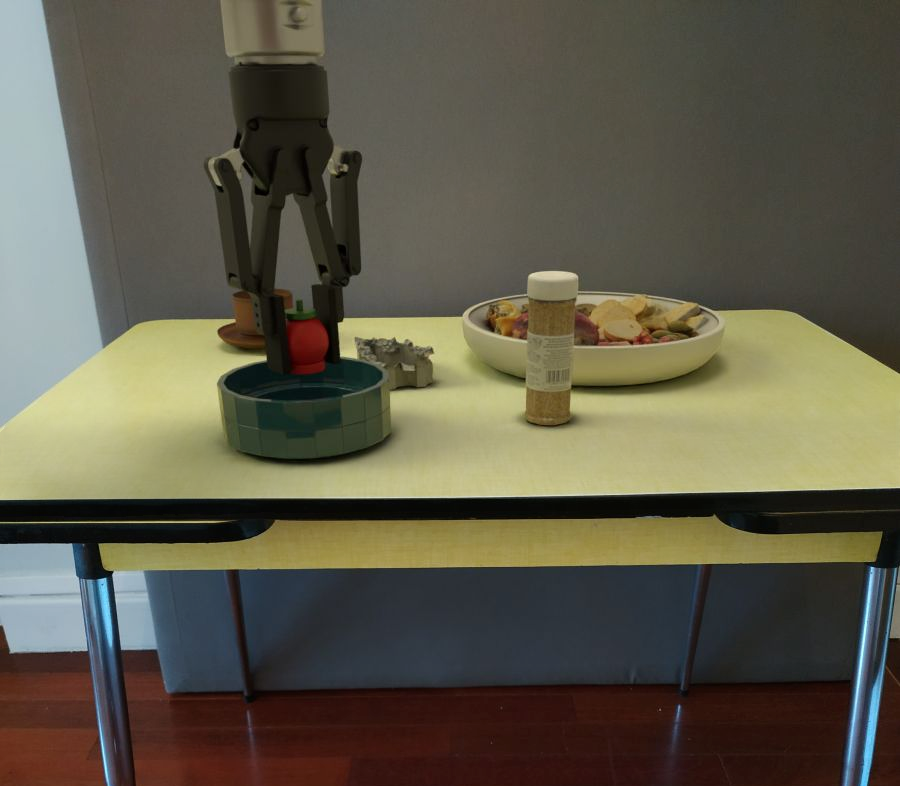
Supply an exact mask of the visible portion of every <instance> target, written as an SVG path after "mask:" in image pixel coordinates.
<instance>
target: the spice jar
mask: <svg viewBox="0 0 900 786" xmlns="http://www.w3.org/2000/svg"><path fill="white" fill-rule="evenodd" d="M526 286H527V287H526V294H527V296H528V301H529V316H528V332H527V366H526V378H525V387H526V389H525V390H526V391H525V411H524V415H523V416H524V418H525V419H526V421H528V422H529V423H532V424H537V425H541V426H542V425H543V426H557V425H562V424H565V423H567V422H568V421H570V419H571V417H572V413H571V394H572V385H571V383H572V370H573V346H574V324H575V303H576V301H577V298H576V297H577V296H578V292H579V276H578V275H577V273H574V272H571V271H570V272H569V271H564V270H563V271H562V270H545V271H537V272H533V273H529V274H528V276H527V285H526Z"/></svg>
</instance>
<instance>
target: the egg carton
mask: <svg viewBox="0 0 900 786" xmlns="http://www.w3.org/2000/svg"><path fill="white" fill-rule="evenodd" d="M354 345H355V349H356V357H357V358H356V359H361V360H366V361H369V362H372V363H375V364H378V365H381V366H382V367H383V368H385V369H386V370H387V371H389V384H390V391H391V390H396V389H397V388H398V387H407V386H412V387H413V386H414V387H415V388H425V387H426V386H427V385H429V384H431V383H433V374H434V364H433V362H432V360H431V359H430V358H429V357H430V356H432V355H435V352H434V351H435V350H434V348H433V346H431V345H427V346H419V345H417V344H416V345H414V342H413V341H412V340H410V339H409V338H406V339H405V340H404V342H398V341H397V339H396V336H394V337H391V338H390V339H387V338H385V337H384V338H383V337H382V338H381V337H380V338H376V337H373V336H372V338H370V339H369V338H362V337H359V336H354Z"/></svg>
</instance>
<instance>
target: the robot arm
mask: <svg viewBox="0 0 900 786" xmlns="http://www.w3.org/2000/svg"><path fill="white" fill-rule="evenodd" d="M219 1H220V10H221V21H222V30H223V40H224V48H225V49H224V51H225V55H227V56H228V57H229V58H232V59H234V66H230V71H228V72H227V73H228V82H229V90H230V91H229V92H230V99H231V109H232V115H233V119H234V121H235V127H236V132H235V135H234V139H233V142H232V148H231V149H230V150H228V151H226V152H224V153H222V154H221V155H219V156H216V157H214V156H208V157H206V158H205V159H204V161H203V168H204V171H205V173H206V175H207V177H208V180H209V182H210V184H211V186H212V189H213V190H214V191H213V192H214V198H215V206H216V212H217V219H218V225H219V226H218V227H219V228H218V229H219V235H220V242H221V250H222V255H223V256H222V257H223V264H224V270H225V278H226V282H227V285H228V286H229V287H230V288H232V289H236V290H239V291H246V292H248V293H249V294H250V296H251V299H252V308H253V315H254V316H253V317H254V325H255V329H256V331H257V333H258V334H261V335H264V339H265V349H264V350H265V357H266V360H267V367H268V369H269V370H272V371H274V372H277V373H279V374H282V375H287V374H291V369H290V358H289V348H288V338H287V328H286V318H285V307H284V297H283V296H281V295H278V294H274V288H276V275H277V274H276V273H277V265H278V263H277V262H278V251H279V241H280V231H281V230H280V229H281V219H282V211H283V210H284V209H285V207H286V199H287V198H286V197H288V196H289V195H292V197H293V200H294V202H295V203H296V204H297V205H298V208H299V212H300V215H301V218H302V223H303V226H304V230H305V234H306V237H307V241H308V244H309V248H310V252H311V255H312V259H313V263H314V267H315V271H316V273H317V277H318V279H319V281H320V282H321V284H320V283H314V284H311V285H310V286H311V287H310V288H311V298H312V299H311V300H312V308H313V309H315V310H316V317H315V318H316V319H318V320H319V321H320V322H321V323H322V324H323V326H324V327H325V329H326V331H327V334H328V339H329V345H328V350H327V353H326V355H325V356H324V358H323V359H324V361H325V362H328V363H331V364H333V365H334V364H339V363H341V360H340V357H341V348H340V335H339V334H340V331H339V323H343V322H344V319H345V310H344V309H345V306H344V293H343V288H347V286H349V284H350V280H351V277H354V276H359V275H360V274H361V272H362V253H361V232H360V230H361V229H360V212H359V211H360V209H359V189H358V188H359V187H358V181H359V177H360V172H361V167H362V163H363V155H362V154H361V152H360V151H358V150H350V149H345V148H343V147H341V146H338V145H336V144H335V143H334V139H333V137H332V134H331V132H330V130H329V127H328V118H329V115H330V99H329V98H330V97H329V82H328V70H325V66H324V65H319V61H318V60H319V59H318V58H321V57H323V56H324V55H325V53H326V48H325V47H326V46H325V33H324V19H323V3H322V0H219ZM242 168H243V169H244V171H245V172H246V173H247V175H248V176H249V177H250V179H251V190H250V191H251V194H250V203H251V205H252V217H251V228H250V229H251V231H250V237H249V230H248V222H247V214H246V207H245V206H246V205H245V198H244V193H243V192H244V191H243V188H242V185H241V181H242V179H243V177H244V176H243V173H242ZM326 168H327V170H328V171H329V173H330V177H329V191H330V192H329V194H330V211H331V212H330V213H331V218H330V214H329V210H328V206H327V202H328V193H327V190H326V189H327V188H326V186H325V182H324V178H323V175H324V173H325V170H326Z"/></svg>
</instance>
